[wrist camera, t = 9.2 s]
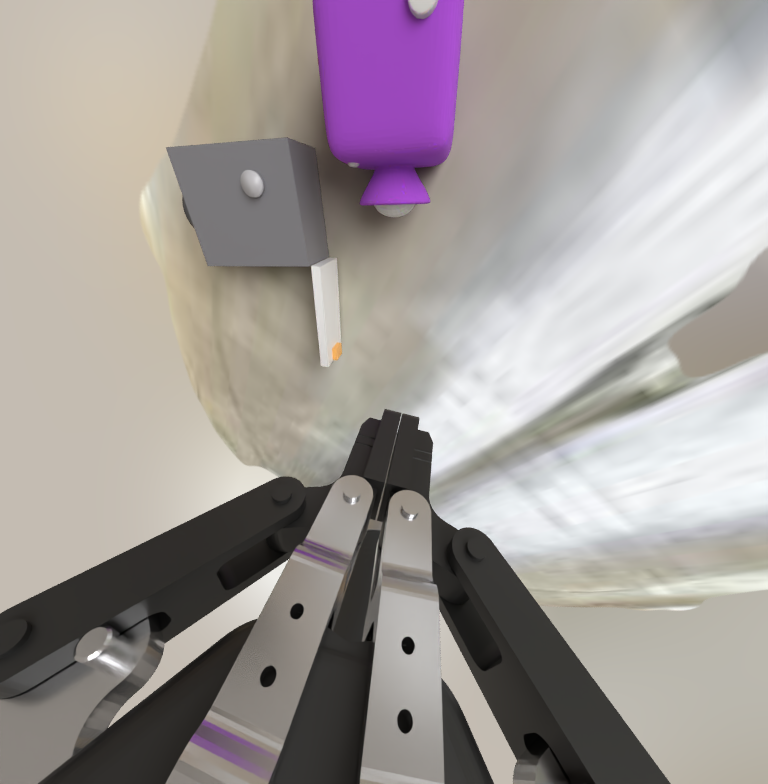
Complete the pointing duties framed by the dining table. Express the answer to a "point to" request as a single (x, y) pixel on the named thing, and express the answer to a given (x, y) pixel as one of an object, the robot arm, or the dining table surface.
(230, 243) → the camera case
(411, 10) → the toy camera
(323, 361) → the side door
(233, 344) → the dining table surface
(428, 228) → the dining table surface
